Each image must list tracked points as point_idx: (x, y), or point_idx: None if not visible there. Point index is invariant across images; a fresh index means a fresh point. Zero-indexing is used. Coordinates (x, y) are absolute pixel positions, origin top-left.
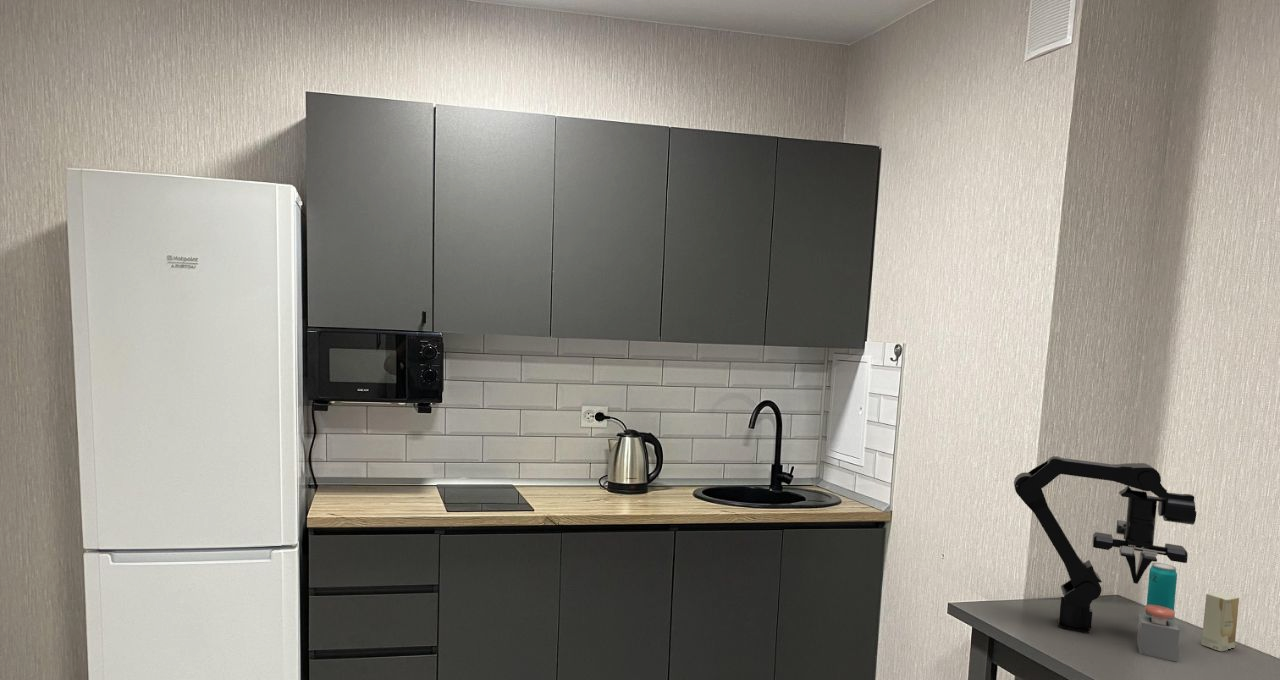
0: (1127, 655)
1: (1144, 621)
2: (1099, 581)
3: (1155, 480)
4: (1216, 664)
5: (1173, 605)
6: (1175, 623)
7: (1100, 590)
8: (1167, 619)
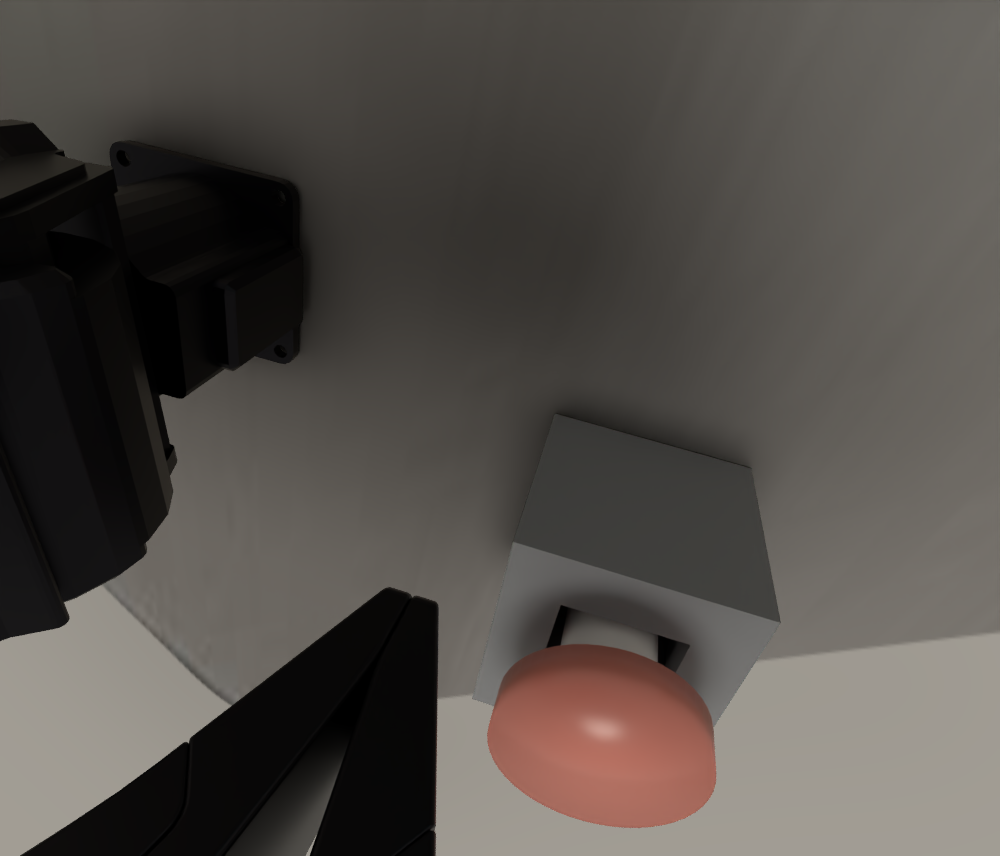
0: (450, 585)
1: (495, 679)
2: (45, 617)
3: None
4: (938, 589)
5: None
6: (738, 673)
7: (133, 562)
8: (715, 612)
